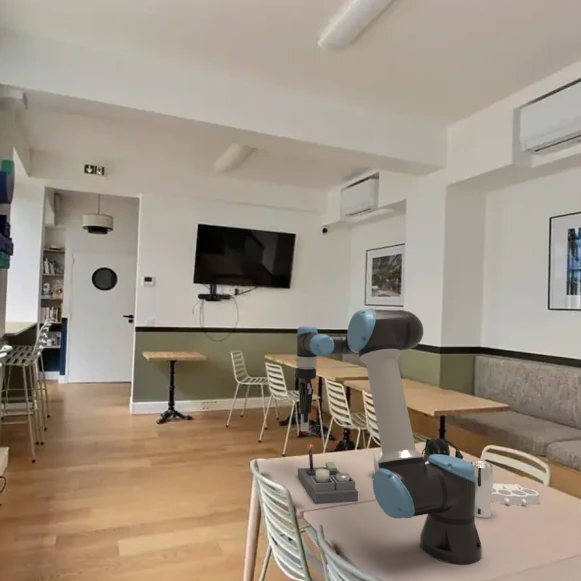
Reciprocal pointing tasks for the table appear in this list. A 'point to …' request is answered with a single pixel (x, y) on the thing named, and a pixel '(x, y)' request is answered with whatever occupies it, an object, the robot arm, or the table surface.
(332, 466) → the rocker switch
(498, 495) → the knuckle duster
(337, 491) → the switch panel
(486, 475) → the beer glass
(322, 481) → the white button
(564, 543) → the table surface
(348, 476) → the metal button
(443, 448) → the headphones
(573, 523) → the table surface
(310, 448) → the toggle lever
